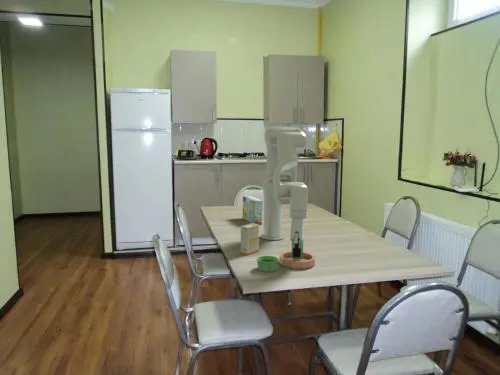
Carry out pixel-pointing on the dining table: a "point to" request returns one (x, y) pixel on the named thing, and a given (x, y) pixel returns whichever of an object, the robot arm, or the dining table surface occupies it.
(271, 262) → the ramekin
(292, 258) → the teal tapered rounded piece
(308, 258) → the round dish
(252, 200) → the snack box
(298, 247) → the robot arm
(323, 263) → the dining table surface
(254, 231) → the supplement box
